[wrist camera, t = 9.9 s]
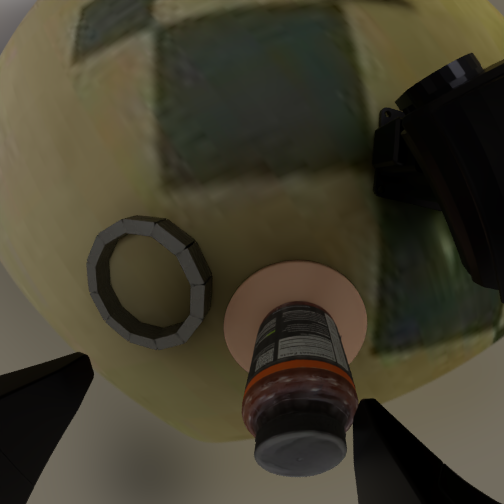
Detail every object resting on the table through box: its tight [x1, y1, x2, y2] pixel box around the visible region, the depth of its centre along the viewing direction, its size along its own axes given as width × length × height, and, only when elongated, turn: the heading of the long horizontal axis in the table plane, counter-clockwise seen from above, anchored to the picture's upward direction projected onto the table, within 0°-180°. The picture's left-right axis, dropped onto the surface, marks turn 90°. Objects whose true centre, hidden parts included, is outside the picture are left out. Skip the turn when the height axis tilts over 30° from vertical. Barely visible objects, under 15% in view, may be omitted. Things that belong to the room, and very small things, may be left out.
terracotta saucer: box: [224, 260, 367, 373], centre depth 20 cm, size 11×11×1 cm
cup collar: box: [86, 215, 212, 350], centre depth 20 cm, size 10×10×2 cm
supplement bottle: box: [242, 301, 359, 477], centre depth 14 cm, size 6×6×11 cm
